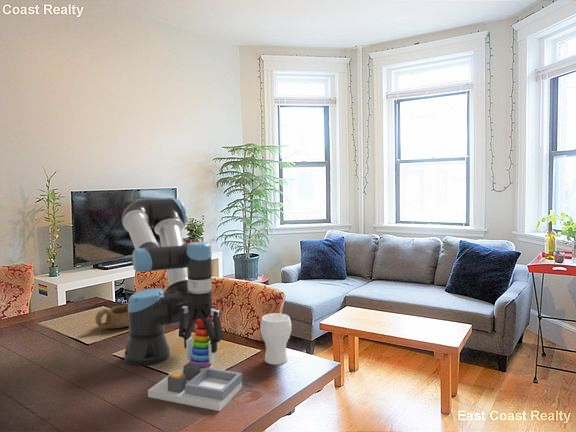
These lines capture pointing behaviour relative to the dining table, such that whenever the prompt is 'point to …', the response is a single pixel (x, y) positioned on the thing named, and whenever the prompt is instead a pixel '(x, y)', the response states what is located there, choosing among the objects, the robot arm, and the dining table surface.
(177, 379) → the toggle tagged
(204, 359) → the stacking toy
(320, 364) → the dining table surface
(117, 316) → the brown mug
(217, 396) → the frame
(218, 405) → the panel
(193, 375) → the toggle
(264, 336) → the cup
